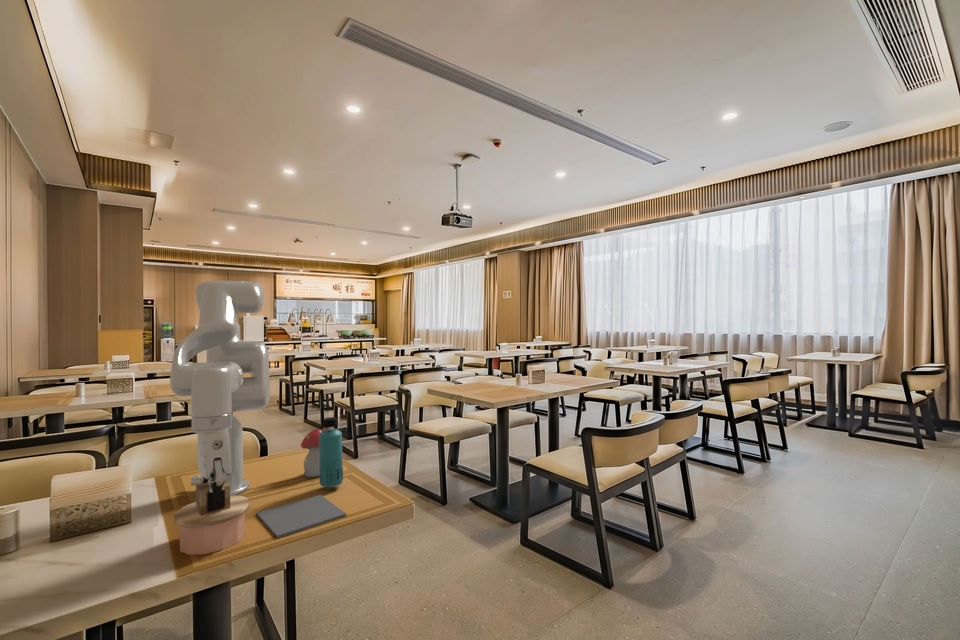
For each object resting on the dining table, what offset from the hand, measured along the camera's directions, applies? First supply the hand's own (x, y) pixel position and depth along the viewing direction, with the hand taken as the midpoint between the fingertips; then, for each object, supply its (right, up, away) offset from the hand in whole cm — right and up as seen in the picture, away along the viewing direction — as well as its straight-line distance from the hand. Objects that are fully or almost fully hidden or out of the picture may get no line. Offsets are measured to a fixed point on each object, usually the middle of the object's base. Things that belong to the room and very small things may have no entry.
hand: (213, 504), depth 96 cm
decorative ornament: (+8, -8, +41) cm, 42 cm away
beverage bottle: (+16, -8, +29) cm, 34 cm away
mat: (+14, -8, +12) cm, 20 cm away
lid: (0, -2, 0) cm, 2 cm away
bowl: (0, -8, 0) cm, 8 cm away
